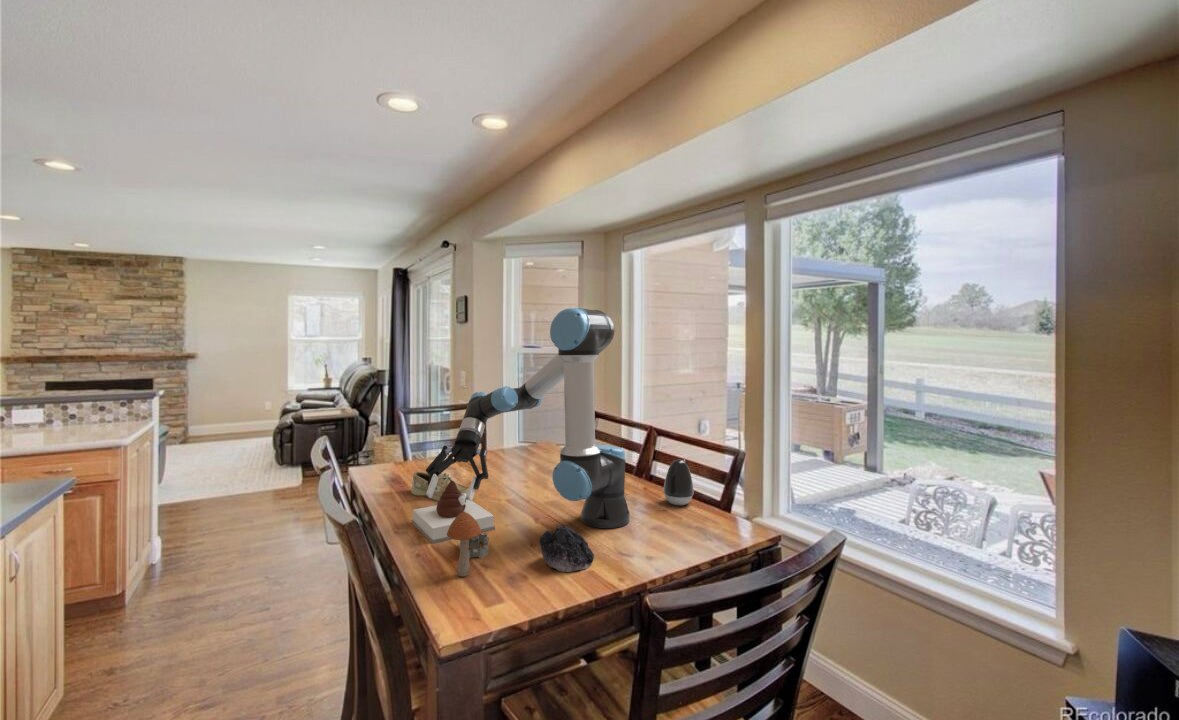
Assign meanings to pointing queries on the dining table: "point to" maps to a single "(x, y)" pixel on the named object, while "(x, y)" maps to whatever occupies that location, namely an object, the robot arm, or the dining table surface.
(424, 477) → the boat shoe
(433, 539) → the podium
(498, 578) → the dining table surface
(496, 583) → the dining table surface
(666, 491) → the black egg shaped device
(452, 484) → the poop emoji
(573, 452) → the robot arm
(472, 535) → the mushroom
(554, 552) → the crystal cluster
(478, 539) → the stone castle ruin
